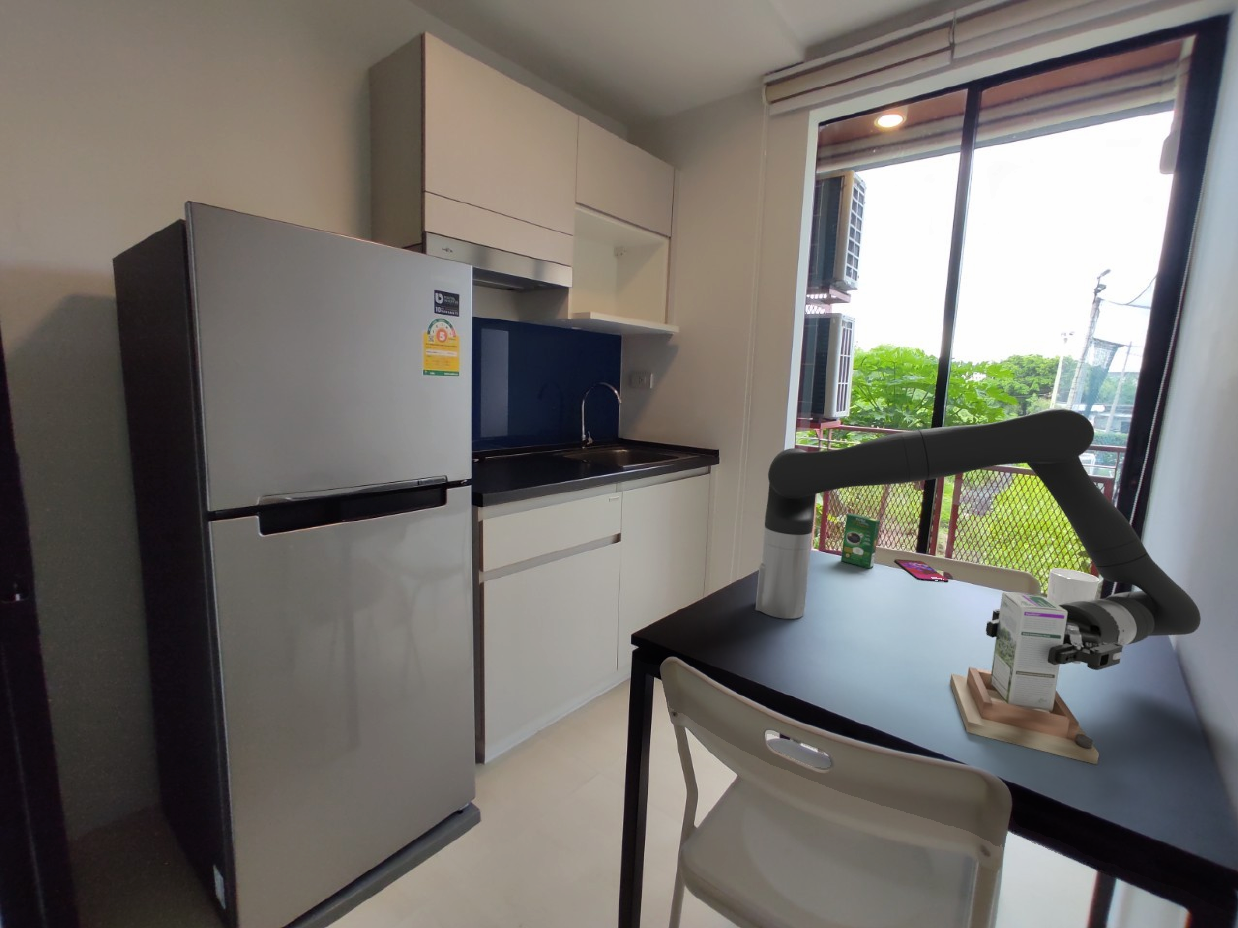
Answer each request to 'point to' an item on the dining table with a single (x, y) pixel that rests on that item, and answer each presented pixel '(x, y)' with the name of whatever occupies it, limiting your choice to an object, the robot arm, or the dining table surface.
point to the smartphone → (920, 570)
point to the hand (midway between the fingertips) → (1018, 642)
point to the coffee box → (860, 540)
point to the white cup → (1070, 586)
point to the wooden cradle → (1019, 719)
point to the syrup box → (1027, 649)
